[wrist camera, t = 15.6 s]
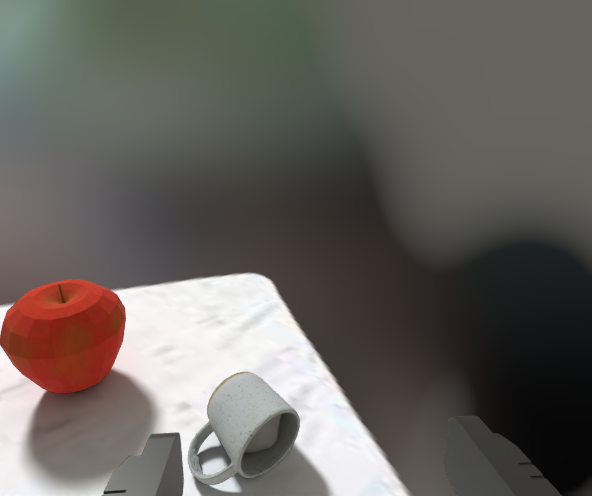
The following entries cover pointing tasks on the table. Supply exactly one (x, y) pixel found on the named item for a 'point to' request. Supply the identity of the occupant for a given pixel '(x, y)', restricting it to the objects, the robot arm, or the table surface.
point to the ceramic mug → (246, 428)
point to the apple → (64, 334)
